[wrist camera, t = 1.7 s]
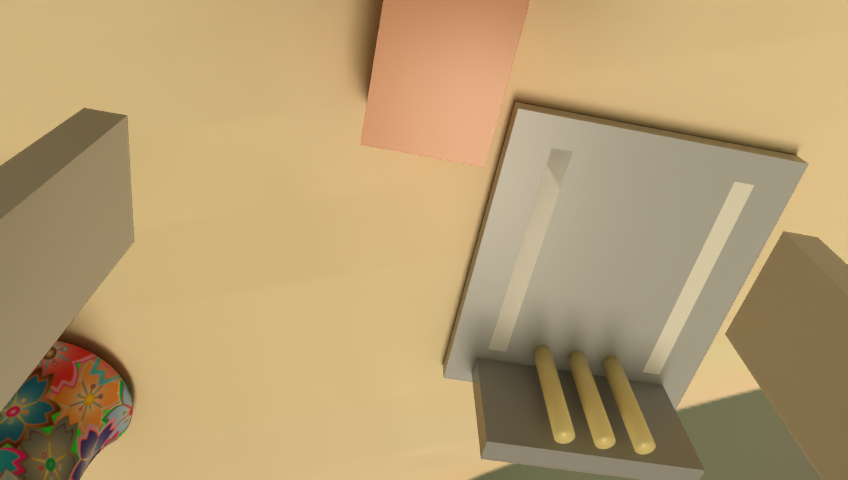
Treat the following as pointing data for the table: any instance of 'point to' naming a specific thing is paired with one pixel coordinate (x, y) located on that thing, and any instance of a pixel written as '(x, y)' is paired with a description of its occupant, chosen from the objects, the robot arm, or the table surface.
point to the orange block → (441, 76)
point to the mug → (62, 416)
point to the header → (606, 287)
